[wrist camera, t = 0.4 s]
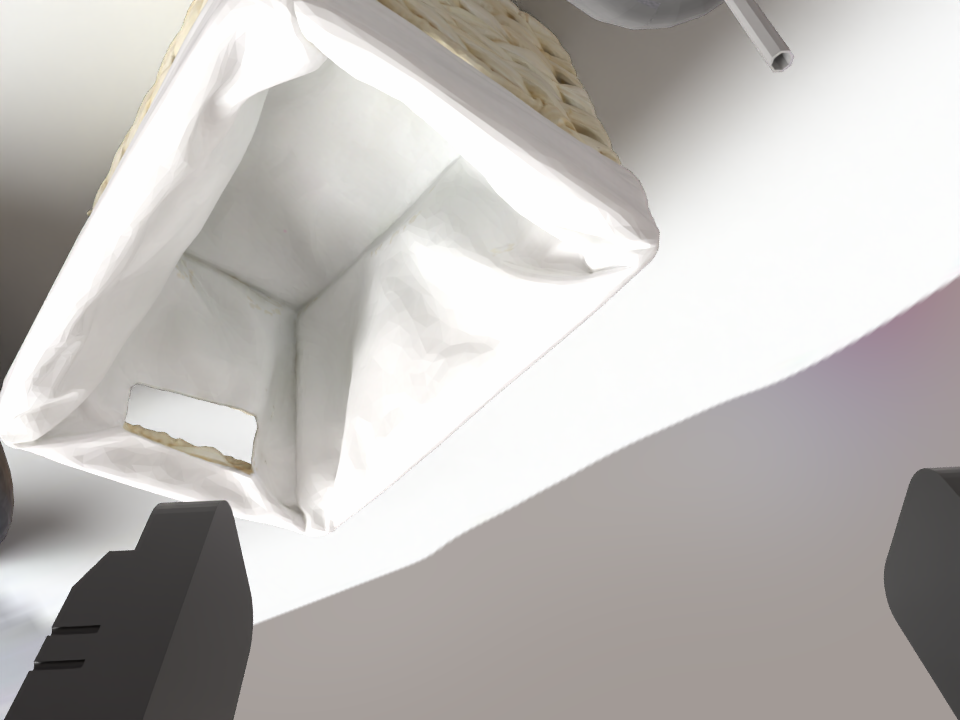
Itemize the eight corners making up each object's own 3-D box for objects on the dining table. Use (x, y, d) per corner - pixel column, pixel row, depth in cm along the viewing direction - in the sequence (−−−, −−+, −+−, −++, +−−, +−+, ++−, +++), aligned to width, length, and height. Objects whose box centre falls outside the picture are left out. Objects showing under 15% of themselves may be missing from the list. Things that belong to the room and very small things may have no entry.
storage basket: (295, -225, 29) (237, -47, 19) (617, 37, 37) (690, 256, 27) (67, 212, 43) (-34, 446, 33) (339, 334, 51) (323, 552, 41)
